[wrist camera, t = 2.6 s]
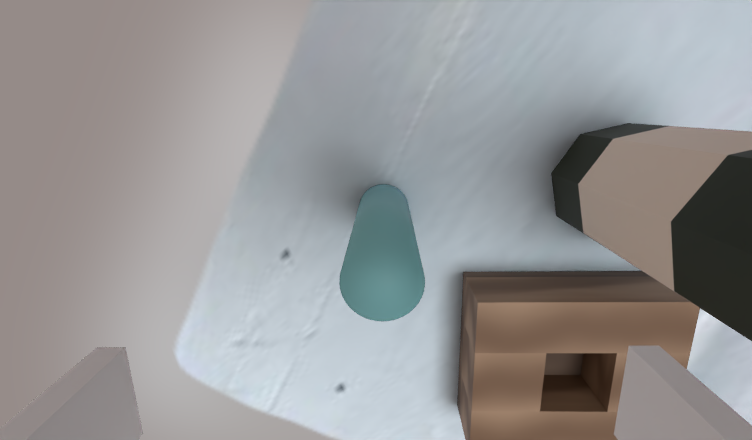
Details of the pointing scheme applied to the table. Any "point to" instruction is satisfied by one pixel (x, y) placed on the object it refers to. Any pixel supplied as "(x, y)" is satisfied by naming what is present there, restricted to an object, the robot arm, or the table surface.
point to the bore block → (559, 349)
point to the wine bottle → (669, 208)
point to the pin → (382, 258)
